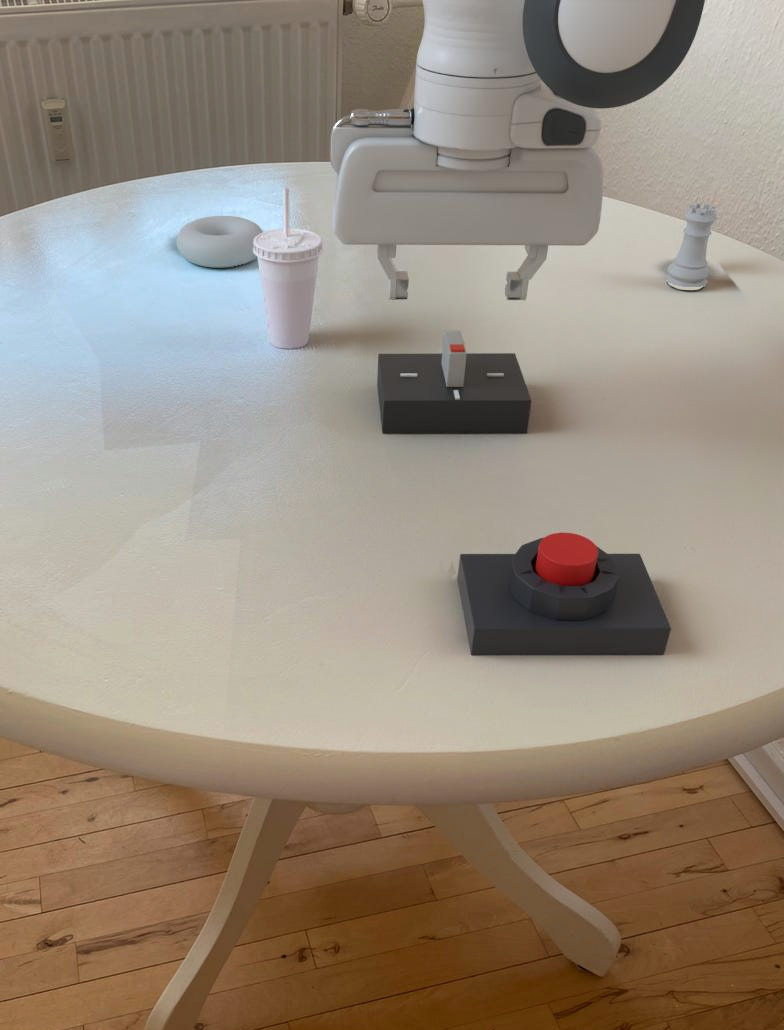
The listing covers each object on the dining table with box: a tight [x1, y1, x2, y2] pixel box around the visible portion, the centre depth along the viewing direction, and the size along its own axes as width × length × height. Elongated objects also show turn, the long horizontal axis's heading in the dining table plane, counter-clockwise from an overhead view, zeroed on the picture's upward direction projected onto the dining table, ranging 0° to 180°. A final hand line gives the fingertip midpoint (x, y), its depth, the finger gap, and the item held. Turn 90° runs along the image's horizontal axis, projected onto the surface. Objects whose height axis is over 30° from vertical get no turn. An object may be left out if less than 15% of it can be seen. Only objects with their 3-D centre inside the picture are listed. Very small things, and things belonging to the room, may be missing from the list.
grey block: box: [441, 330, 468, 387], centre depth 88 cm, size 4×1×3 cm, turn 0°
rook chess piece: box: [665, 202, 718, 287], centre depth 110 cm, size 4×4×8 cm
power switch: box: [456, 537, 672, 656], centre depth 68 cm, size 12×8×4 cm, turn 90°
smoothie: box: [253, 186, 324, 350], centre depth 98 cm, size 6×6×14 cm
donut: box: [176, 215, 264, 269], centre depth 119 cm, size 10×3×10 cm
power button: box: [536, 532, 598, 586], centre depth 66 cm, size 4×4×2 cm
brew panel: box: [376, 352, 532, 434], centre depth 90 cm, size 12×9×3 cm
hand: (456, 297), depth 85 cm, fingers open, 8 cm apart
